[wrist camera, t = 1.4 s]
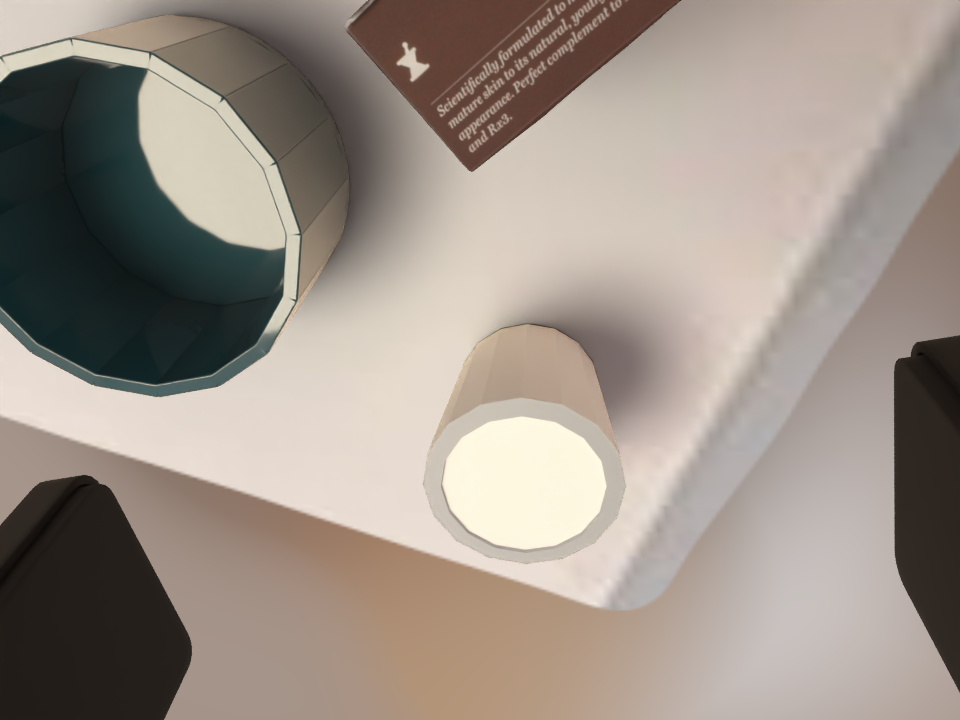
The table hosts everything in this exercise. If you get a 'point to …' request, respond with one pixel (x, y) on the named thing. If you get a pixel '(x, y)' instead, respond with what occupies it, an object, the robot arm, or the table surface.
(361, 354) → the table surface
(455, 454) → the cream cylinder
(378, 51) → the box
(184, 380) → the teal round container
